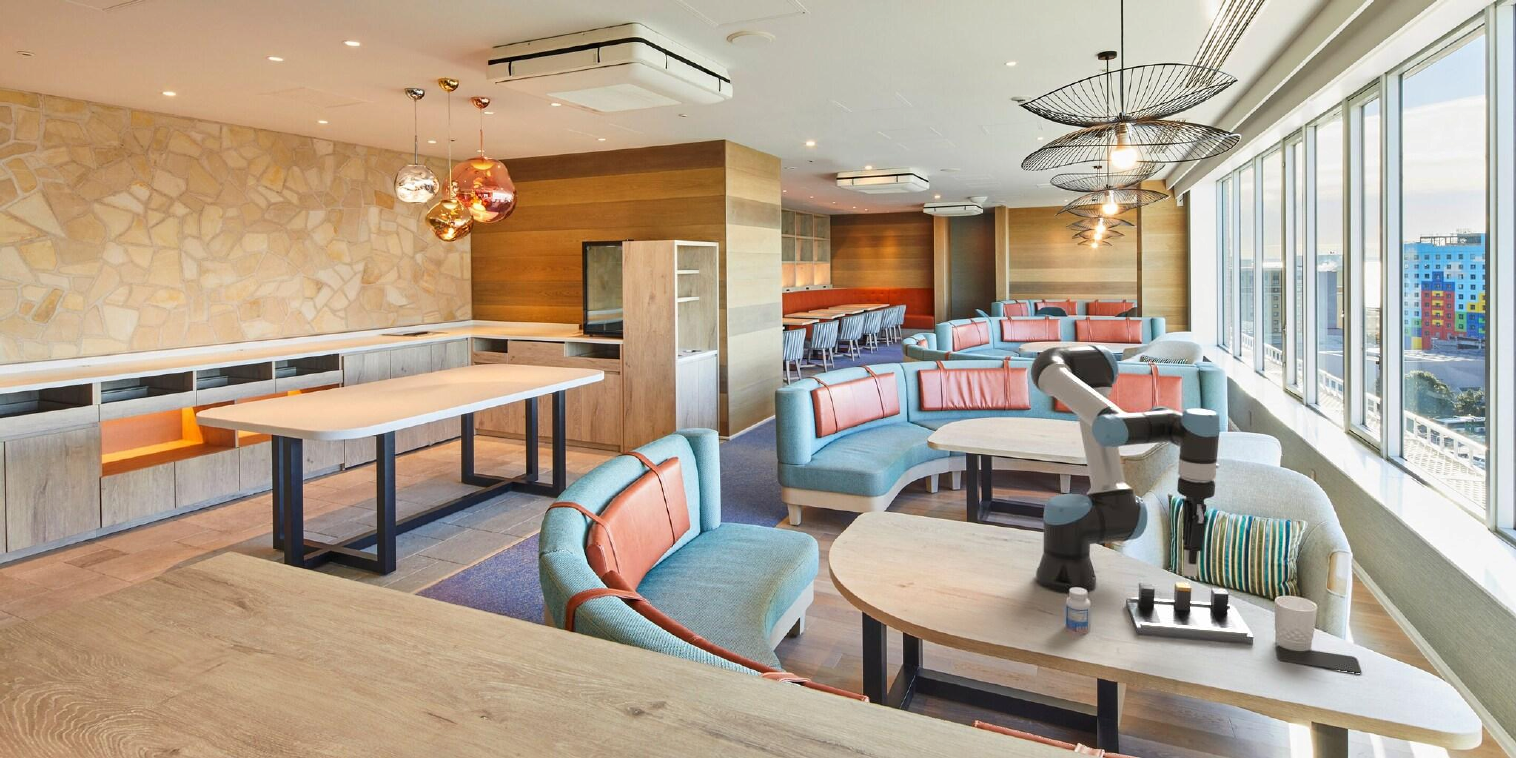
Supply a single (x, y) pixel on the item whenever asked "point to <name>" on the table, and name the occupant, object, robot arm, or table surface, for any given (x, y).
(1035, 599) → the table surface
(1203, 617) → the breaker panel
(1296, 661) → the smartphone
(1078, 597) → the pill bottle
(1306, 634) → the white cup
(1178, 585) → the breaker
